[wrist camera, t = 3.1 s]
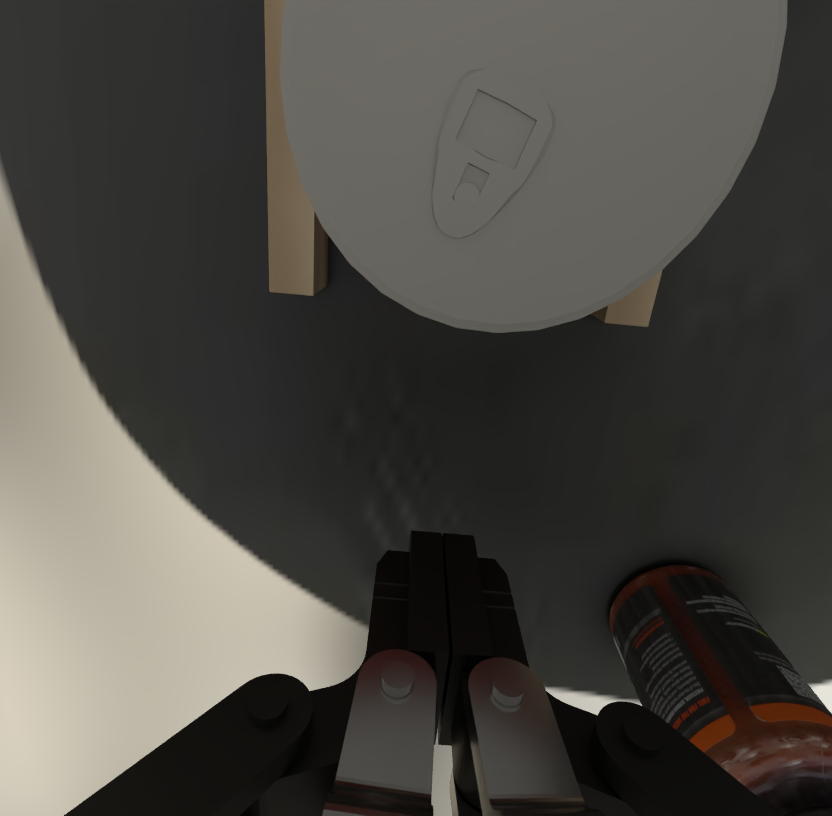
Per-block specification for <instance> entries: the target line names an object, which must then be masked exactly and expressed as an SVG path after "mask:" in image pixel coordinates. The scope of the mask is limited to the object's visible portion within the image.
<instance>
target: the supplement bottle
mask: <svg viewBox="0 0 832 816" xmlns="http://www.w3.org/2000/svg"><path fill="white" fill-rule="evenodd" d="M609 624H610V631H611V634H612V636H613V639H614V642H615V645H616V647H617V650H618V652H619V654H620V656H621V659H622V661H623V663H624V665H625V668H626V670H627V673H628V675H629V677H630V680H631V682H632V684H633V686H634V688H635V691H636V693H637V695H638V698H639V700H640V702H641V704H642V706H643V707H645V708H647V709H649V710H651V711H652V712H654V713H655V714H657V715H658V716H659V717H661V718H662V719H663V720H665V721H666V722H667V723H668V724H669V725H671V726H672V727H673V728H674V729H676V730H677V731H678V732H679V733H680V734H682V735H683V736H684V737H685V738H687V739H688V740H689V741H690V742H691V743H693V744H694V745H695V746H696V747H698V748H699V749H700V750H701V751H703V752H704V753H705V754H706V755H707V756H709V757H710V758H711V759H712V760H714V761H715V762H716V763H717V764H718V765H720V766H721V767H722V768H723V769H725V770H726V771H727V772H728V773H729V774H731V775H732V776H733V777H734V778H736V779H737V780H738V781H739V782H740V783H742V784H743V785H744V786H745V787H747V788H748V789H749V790H750V791H751V792H753V793H754V794H755V795H756V796H758V797H759V798H760V799H761V800H762V801H764V802H765V803H766V804H767V805H769V806H770V807H771V808H772V809H773V810H775V811H776V812H777V813H778V814H780V815H781V816H832V714H831V712H829V710H828V709H827V708H826V707H825V705H824V704H823V703H822V702H821V700H820V699H819V698H818V697H817V695H816V694H815V693H814V692H813V690H812V689H811V688H810V686H809V685H808V684H807V683H806V682H805V680H804V679H803V678H802V677H801V675H800V674H799V673H798V672H797V671H796V670H795V669H794V667H793V666H792V664H791V663H790V662H789V661H788V659H787V658H786V657H785V656H784V654H783V653H782V652H781V651H780V650H779V648H778V647H777V646H776V644H775V643H774V642H773V641H772V640H771V638H770V637H769V636H768V635H767V633H766V632H765V631H764V630H763V628H762V627H761V626H760V624H759V623H758V622H757V621H756V620H755V618H754V617H753V616H752V615H751V614H750V612H749V611H748V610H747V609H746V607H745V606H744V605H743V604H742V602H741V601H740V600H739V598H738V597H737V596H736V595H735V594H734V593H733V591H732V590H731V589H729V587H728V585H727V584H726V583H724V582H723V581H722V580H721V579H720V578H719V577H717V576H716V575H715V574H713V573H712V572H709V571H707V570H705V569H702V568H699V567H694V566H689V565H669V566H664V567H659V568H656V569H652V570H650V571H648V572H645V573H643V574H641V575H639V576H637V577H636V578H635V579H633V580H631V581H630V582H629V583H628V584H627V585H626V586H625V587H624V588H623V589H622V590H621V591H620V592H619V594H618V595H617V597H616V598H615V600H614V601H613V604H612V607H611V610H610V614H609Z"/></svg>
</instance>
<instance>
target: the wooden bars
mask: <svg viewBox="0 0 832 816" xmlns="http://www.w3.org/2000/svg"><path fill="white" fill-rule="evenodd" d="M285 2H286V0H264V6H265V64H266V122H267V180H268V238H269V292H277V293H288V294H299V295H309V296H314V295H315V294H317V293H318V292H319V291H321V290H322V289H323V288H325V287H326V286H327V274H328V234H327V233H326V231H325V230H324V229H323V227H322V225H321V223H320V221H319V219H318V217H317V215H316V213H315V211H314V209H313V207H312V205H311V203H310V201H309V199H308V197H307V195H306V193H305V191H304V189H303V187H302V185H301V182H300V179H299V175H298V172H297V168H296V165H295V161H294V158H293V155H292V151H291V148H290V144H289V141H288V137H287V134H286V127H285V119H284V110H283V102H282V93H281V85H280V57H281V34H282V16H283V11H284V7H285ZM661 274H662V271H660V272H659V273H658V274H656V275H655V276H653V277H652V278H651V279H649V280H648V281H646V282H645V283H644V284H642V285H641V286H639V287H638V288H636V289H635V290H634V291H632V292H631V293H629V294H628V295H626V296H625V297H624V298H622V299H621V300H619V301H616V302H614V303H612V304H610V305H608V306H606V307H604V308H602V309H600V310H597V311H595V312H593V313H591V315H593V316H595V317H596V318H598V319H599V320H601V321H602V322H604V323H611V324H622V325H633V326H644V327H648V324H649V321H650V317H651V313H652V309H653V305H654V301H655V297H656V293H657V289H658V285H659V282H660V278H661Z"/></svg>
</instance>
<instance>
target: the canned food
mask: <svg viewBox="0 0 832 816" xmlns="http://www.w3.org/2000/svg"><path fill="white" fill-rule="evenodd" d="M786 28H787V0H286V2H285V7H284V11H283V16H282V34H281V57H280V85H281V93H282V102H283V110H284V119H285V127H286V134H287V137H288V141H289V144H290V148H291V151H292V155H293V158H294V161H295V165H296V168H297V172H298V175H299V179H300V182H301V185H302V187H303V189H304V191H305V193H306V195H307V197H308V199H309V201H310V203H311V205H312V207H313V209H314V211H315V213H316V215H317V217H318V219H319V221H320V223H321V225H322V227H323V229H324V230H325V231H326V233H327V234H328V235H329V237H330V238H331V239H332V241H333V242H334V243H335V245H336V246H337V247H338V249H339V250H340V251H341V253H342V254H343V255H344V257H345V258H346V259H347V261H348V262H349V263H350V265H352V266H353V267H354V268H355V269H356V270H357V271H358V272H359V273H360V274H361V275H363V276H364V277H365V278H366V279H367V280H368V281H369V282H370V283H371V284H372V285H374V286H375V287H376V288H377V289H378V290H379V291H380V292H381V293H383V294H384V295H386V296H388V297H389V298H391V299H393V300H394V301H396V302H398V303H399V304H401V305H403V306H404V307H406V308H408V309H409V310H411V311H413V312H414V313H416V314H418V315H421V316H424V317H427V318H429V319H432V320H435V321H438V322H441V323H444V324H447V325H450V326H453V327H456V328H462V329H470V330H477V331H485V332H493V333H504V332H517V331H531V330H540V329H544V328H548V327H551V326H555V325H559V324H562V323H566V322H570V321H574V320H577V319H581V318H583V317H585V316H587V315H589V314H591V313H593V312H595V311H597V310H600V309H602V308H604V307H606V306H608V305H610V304H612V303H614V302H616V301H619V300H621V299H622V298H624V297H625V296H626V295H628V294H629V293H631V292H632V291H634V290H635V289H636V288H638V287H639V286H641V285H642V284H644V283H645V282H646V281H648V280H649V279H651V278H652V277H653V276H655V275H656V274H658V273H659V272H660V271H662V270H663V269H664V268H665V267H666V266H667V265H668V264H669V263H670V262H671V261H672V260H673V259H674V258H675V257H676V256H677V255H678V254H679V253H680V252H681V251H682V250H683V249H684V248H685V247H686V246H687V245H688V244H689V243H690V242H691V241H692V240H693V239H694V238H695V237H696V236H697V235H698V234H699V232H700V231H701V230H702V228H703V227H704V226H705V224H706V223H707V222H708V220H709V219H710V218H711V216H712V215H713V214H714V212H715V211H716V210H717V208H718V207H719V206H720V204H721V203H722V202H723V200H724V199H725V197H726V196H727V195H728V193H729V192H730V190H731V188H732V186H733V184H734V183H735V181H736V179H737V177H738V175H739V173H740V171H741V169H742V168H743V166H744V164H745V162H746V160H747V158H748V156H749V154H750V153H751V151H752V149H753V147H754V145H755V143H756V141H757V138H758V135H759V132H760V129H761V127H762V124H763V121H764V118H765V115H766V112H767V109H768V107H769V104H770V101H771V98H772V95H773V92H774V90H775V87H776V82H777V76H778V71H779V66H780V60H781V55H782V49H783V44H784V39H785V33H786Z"/></svg>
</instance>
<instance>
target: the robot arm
mask: <svg viewBox="0 0 832 816" xmlns="http://www.w3.org/2000/svg"><path fill="white" fill-rule="evenodd" d="M437 728H438V744H439V745H451V746H452V757H453V769H452V774H451V780H450V797H451V805H452V813H453V816H781V815H780V814H778V813H777V812H776V811H775V810H773V809H772V808H771V807H770V806H769V805H767V804H766V803H765V802H764V801H762V800H761V799H760V798H759V797H758V796H756V795H755V794H754V793H753V792H751V791H750V790H749V789H748V788H747V787H745V786H744V785H743V784H742V783H740V782H739V781H738V780H737V779H736V778H734V777H733V776H732V775H731V774H729V773H728V772H727V771H726V770H725V769H723V768H722V767H721V766H720V765H718V764H717V763H716V762H715V761H714V760H712V759H711V758H710V757H709V756H707V755H706V754H705V753H704V752H703V751H701V750H700V749H699V748H698V747H696V746H695V745H694V744H693V743H691V742H690V741H689V740H688V739H687V738H685V737H684V736H683V735H682V734H680V733H679V732H678V731H677V730H676V729H674V728H673V727H672V726H671V725H669V724H668V723H667V722H666V721H665V720H663V719H662V718H661V717H659V716H658V715H657V714H655V713H654V712H652V711H651V710H649V709H647V708H645V707H643V706H640V705H638V704H634V703H630V702H613V703H610V704H608V705H606V706H605V707H603V708H602V709H601V711H600V712H599V714H598V716H597V715H595V714H592V713H590V712H587V711H584V710H582V709H579V708H576V707H573V706H571V705H568V704H566V703H564V702H562V701H560V700H558V699H556V698H555V697H553V696H552V695H551V694H549V693H548V692H547V691H546V690H545V687H544V685H543V683H542V682H541V680H540V679H539V677H538V676H537V675H536V674H535V673H534V672H533V671H532V670H531V669H530V668H529V665H528V661H527V657H526V653H525V649H524V645H523V640H522V636H521V632H520V628H519V624H518V619H517V615H516V611H515V610H514V602H513V598H512V595H511V590H510V586H509V581H508V577H507V574H506V573H505V572H504V570H503V569H502V568H501V567H500V565H499V564H498V563H497V561H496V560H495V559H488V558H478V557H477V551H476V545H475V539H474V536H471V535H460V534H448V533H443V535H441V533H435V532H423V531H411V535H410V544H409V552H402V551H390V550H387V552H386V553H385V554H384V556H383V557H382V558H381V559H380V561H379V562H378V563H377V568H376V576H375V584H374V593H373V601H372V609H371V617H370V625H369V634H368V642H367V651H366V655H365V658H364V661H363V663H362V665H361V666H360V668H359V669H358V670H357V671H356V672H355V674H353V675H352V676H351V677H350V678H348V679H347V680H345V681H343V682H341V683H339V684H337V685H334V686H330V687H326V688H322V689H317V690H313V691H309V690H308V688H307V687H306V686H305V685H304V684H303V683H302V682H301V681H300V680H298V679H297V678H294V677H292V676H289V675H286V674H267V675H263V676H259V677H256V678H254V679H252V680H250V681H248V682H247V683H245V684H244V685H242V686H241V687H239V688H238V689H237V690H236V691H234V692H233V693H231V694H230V695H229V696H227V697H226V698H224V699H223V700H222V701H221V702H219V703H218V704H216V705H215V706H213V707H212V708H211V709H209V710H208V711H207V712H205V713H204V714H203V715H201V716H200V717H199V718H197V719H196V720H194V721H193V722H192V723H190V724H189V725H188V726H186V727H185V728H183V729H182V730H181V731H179V732H178V733H176V734H175V735H174V736H172V737H171V738H170V739H168V740H167V741H166V742H164V743H163V744H162V745H160V746H159V747H157V748H156V749H155V750H153V751H152V752H150V753H149V754H148V755H146V756H145V757H144V758H142V759H141V760H139V761H138V762H137V763H136V764H134V765H133V766H131V767H130V768H129V769H127V770H126V771H124V772H123V773H122V774H120V775H119V776H118V777H116V778H115V779H114V780H112V781H111V782H109V783H108V784H107V785H105V786H104V787H103V788H101V789H100V790H99V791H97V792H96V793H94V794H93V795H92V796H90V797H89V798H87V799H86V800H85V801H83V802H82V803H81V804H79V805H78V806H77V807H75V808H74V809H72V810H71V811H70V812H68V813H67V814H66V815H64V816H433V806H432V805H431V792H432V771H433V752H434V745H435V741H436V735H437Z"/></svg>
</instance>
